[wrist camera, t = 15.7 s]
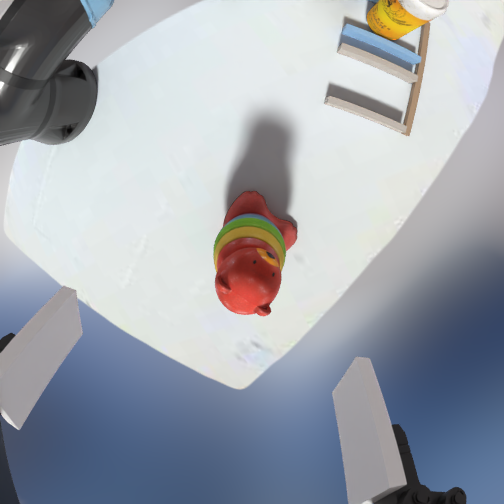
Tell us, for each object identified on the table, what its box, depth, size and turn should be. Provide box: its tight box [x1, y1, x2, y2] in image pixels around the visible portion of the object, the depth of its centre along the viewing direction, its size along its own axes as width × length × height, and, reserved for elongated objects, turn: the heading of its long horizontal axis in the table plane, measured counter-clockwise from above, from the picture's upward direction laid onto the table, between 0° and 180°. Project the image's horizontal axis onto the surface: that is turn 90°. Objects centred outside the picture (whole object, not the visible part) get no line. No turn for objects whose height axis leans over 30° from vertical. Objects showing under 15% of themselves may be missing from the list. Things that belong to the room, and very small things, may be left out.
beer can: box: [367, 0, 449, 40], centre depth 21 cm, size 6×6×15 cm
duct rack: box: [324, 0, 430, 136], centre depth 29 cm, size 14×22×2 cm, turn 167°
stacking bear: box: [214, 191, 297, 316], centre depth 35 cm, size 11×10×18 cm
